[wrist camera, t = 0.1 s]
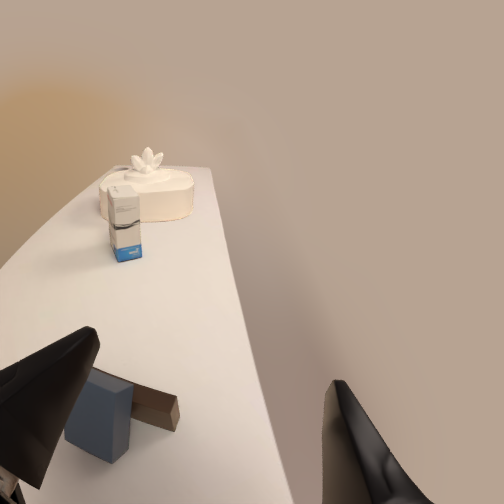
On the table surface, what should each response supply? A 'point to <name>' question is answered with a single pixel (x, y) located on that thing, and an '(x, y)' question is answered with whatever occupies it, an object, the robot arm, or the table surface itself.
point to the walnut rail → (153, 406)
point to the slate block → (101, 417)
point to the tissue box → (153, 189)
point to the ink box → (124, 222)
